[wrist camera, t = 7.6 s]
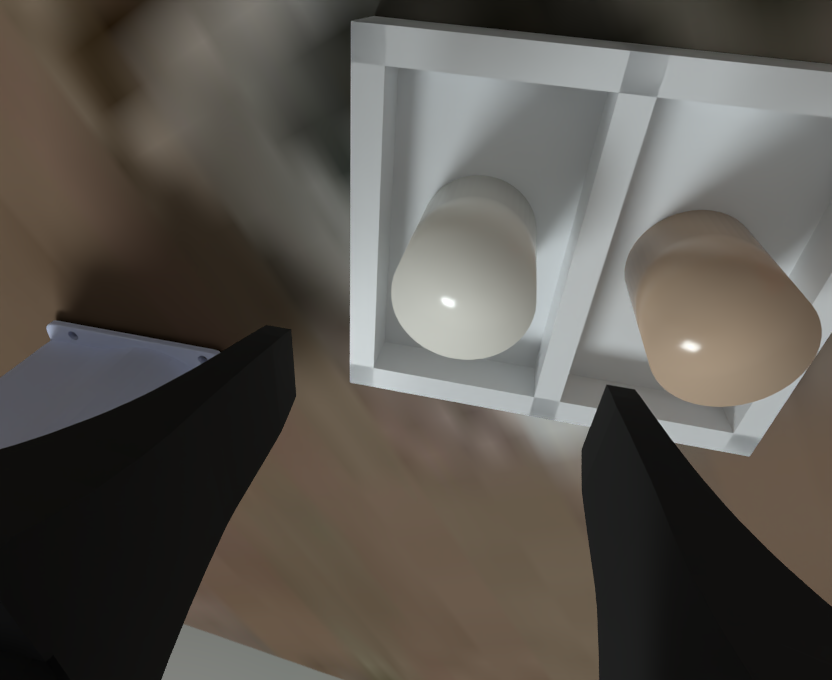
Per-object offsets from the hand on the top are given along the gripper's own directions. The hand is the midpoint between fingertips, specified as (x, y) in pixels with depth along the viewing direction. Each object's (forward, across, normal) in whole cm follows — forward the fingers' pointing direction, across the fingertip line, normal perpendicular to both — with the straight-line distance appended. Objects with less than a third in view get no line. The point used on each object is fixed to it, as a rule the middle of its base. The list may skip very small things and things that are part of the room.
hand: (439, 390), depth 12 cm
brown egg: (+9, -8, 0) cm, 12 cm away
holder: (+10, -4, 0) cm, 10 cm away
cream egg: (+9, 0, 0) cm, 9 cm away
